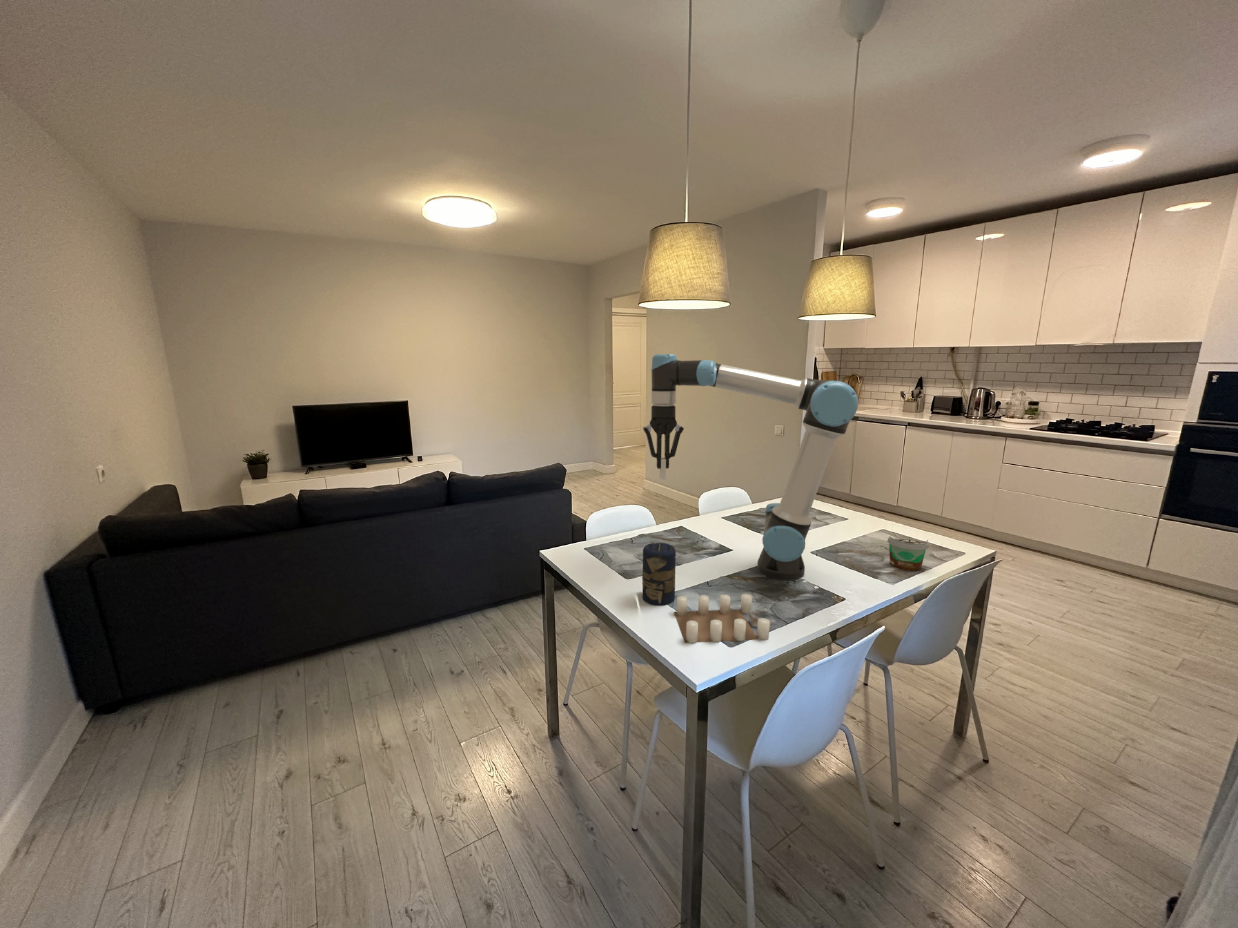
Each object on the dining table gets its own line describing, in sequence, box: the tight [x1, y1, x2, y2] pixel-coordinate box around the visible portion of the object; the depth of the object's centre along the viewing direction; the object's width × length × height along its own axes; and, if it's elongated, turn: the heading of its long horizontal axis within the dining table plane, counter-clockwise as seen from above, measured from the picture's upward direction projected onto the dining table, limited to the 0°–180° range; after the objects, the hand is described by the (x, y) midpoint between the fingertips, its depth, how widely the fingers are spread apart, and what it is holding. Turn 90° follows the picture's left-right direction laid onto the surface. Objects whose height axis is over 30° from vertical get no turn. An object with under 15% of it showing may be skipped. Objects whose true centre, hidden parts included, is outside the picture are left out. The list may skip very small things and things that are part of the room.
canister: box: [641, 542, 677, 607], centre depth 138 cm, size 10×10×18 cm
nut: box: [748, 608, 772, 629], centre depth 126 cm, size 5×6×3 cm
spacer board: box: [673, 608, 759, 644], centre depth 126 cm, size 26×15×1 cm, turn 94°
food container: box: [887, 535, 930, 572], centre depth 160 cm, size 12×6×10 cm, turn 70°
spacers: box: [676, 593, 771, 644], centre depth 125 cm, size 21×16×5 cm
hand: (662, 478), depth 154 cm, fingers closed
